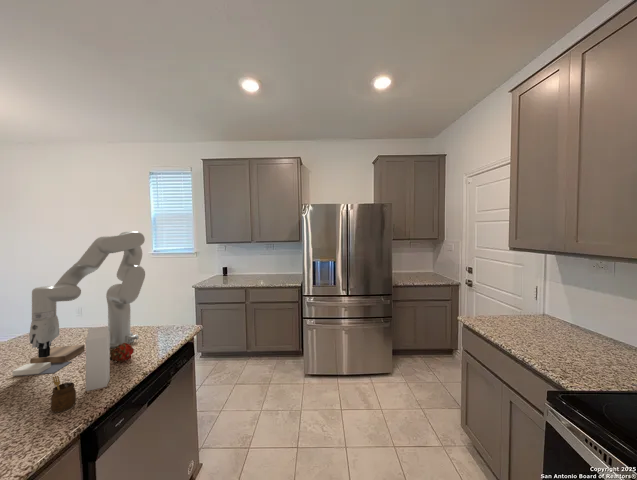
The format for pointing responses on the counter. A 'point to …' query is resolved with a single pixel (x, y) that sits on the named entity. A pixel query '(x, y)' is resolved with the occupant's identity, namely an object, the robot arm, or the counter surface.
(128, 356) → the dragon fruit
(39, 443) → the counter surface
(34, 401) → the counter surface
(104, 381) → the milk
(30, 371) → the white rectangular block
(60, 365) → the mat
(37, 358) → the brown square plate
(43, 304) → the robot arm
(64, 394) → the utensil holder
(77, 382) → the counter surface
